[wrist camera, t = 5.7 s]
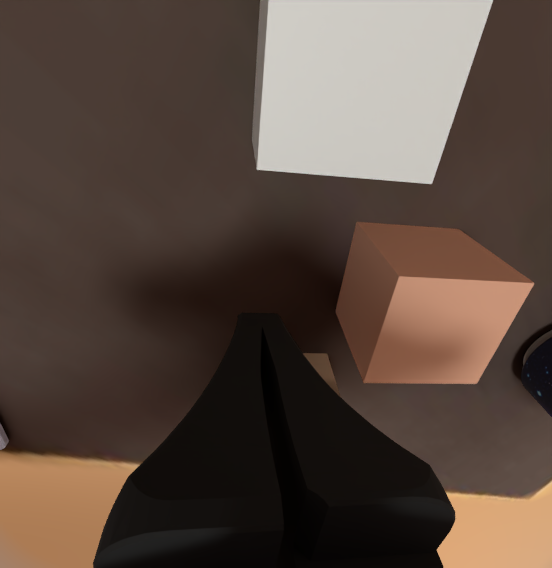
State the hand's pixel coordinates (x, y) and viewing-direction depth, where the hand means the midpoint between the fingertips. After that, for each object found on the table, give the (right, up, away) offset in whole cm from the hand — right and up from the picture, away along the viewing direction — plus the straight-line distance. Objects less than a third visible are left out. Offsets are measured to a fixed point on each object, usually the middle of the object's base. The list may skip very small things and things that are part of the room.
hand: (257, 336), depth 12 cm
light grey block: (+2, +9, +1) cm, 10 cm away
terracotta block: (+7, +2, +5) cm, 9 cm away
